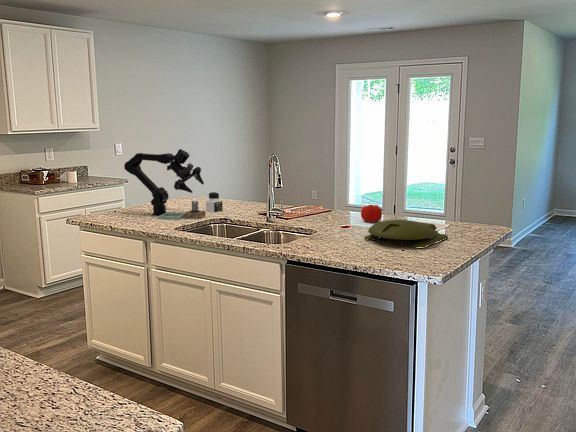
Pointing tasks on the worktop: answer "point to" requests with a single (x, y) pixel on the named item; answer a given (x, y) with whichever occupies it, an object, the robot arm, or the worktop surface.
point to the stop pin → (194, 206)
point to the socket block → (194, 215)
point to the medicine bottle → (214, 203)
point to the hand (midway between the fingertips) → (198, 188)
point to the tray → (165, 215)
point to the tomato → (371, 213)
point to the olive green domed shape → (405, 231)
